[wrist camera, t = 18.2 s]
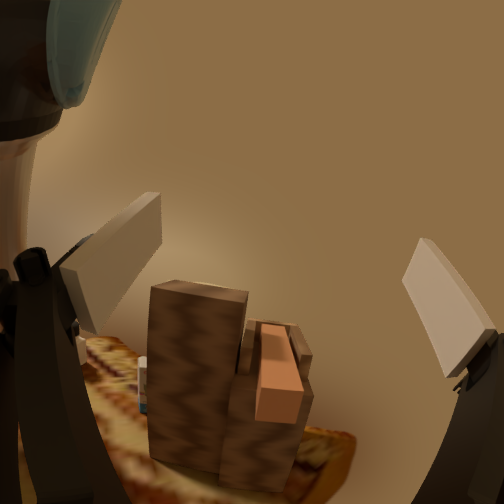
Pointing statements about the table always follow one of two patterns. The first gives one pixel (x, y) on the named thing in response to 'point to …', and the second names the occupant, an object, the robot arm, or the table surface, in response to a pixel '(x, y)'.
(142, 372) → the ink box
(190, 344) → the brown stepped wooden block
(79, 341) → the medicine bottle
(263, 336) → the block
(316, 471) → the table surface
